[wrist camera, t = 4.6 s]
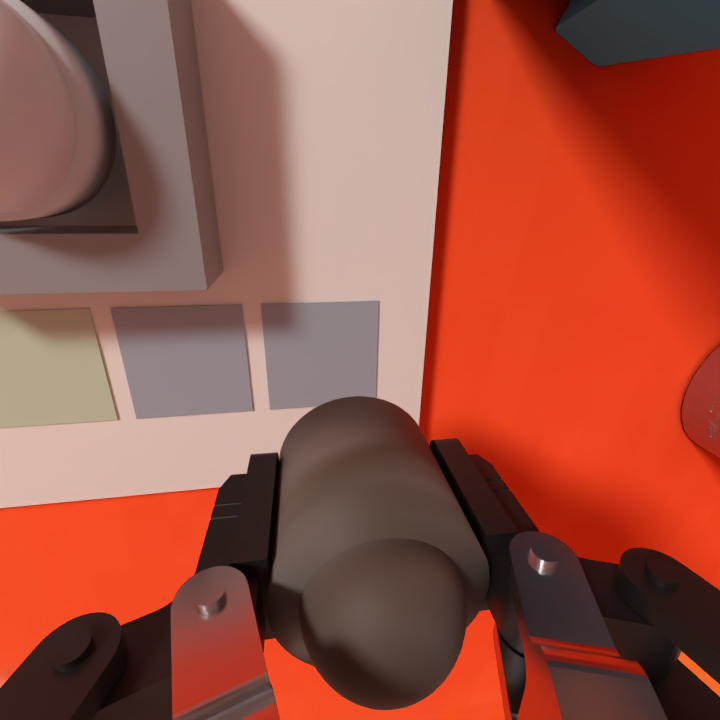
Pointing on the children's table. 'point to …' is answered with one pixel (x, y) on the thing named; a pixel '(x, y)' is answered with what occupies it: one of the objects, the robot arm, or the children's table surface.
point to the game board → (247, 260)
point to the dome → (49, 120)
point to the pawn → (371, 555)
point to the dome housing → (135, 167)
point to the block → (639, 28)
